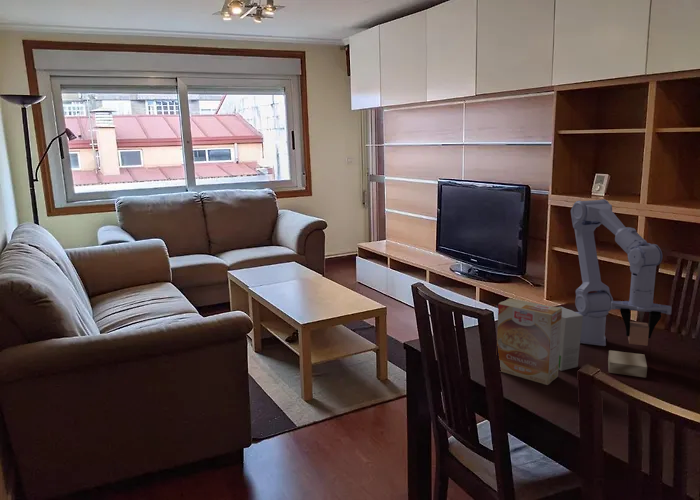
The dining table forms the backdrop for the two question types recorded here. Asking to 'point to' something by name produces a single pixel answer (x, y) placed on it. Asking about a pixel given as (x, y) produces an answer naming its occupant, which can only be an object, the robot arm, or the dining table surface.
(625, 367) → the beech slab
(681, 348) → the dining table surface
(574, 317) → the skincare box
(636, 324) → the terracotta block
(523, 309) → the coffeecake box
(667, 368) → the dining table surface
